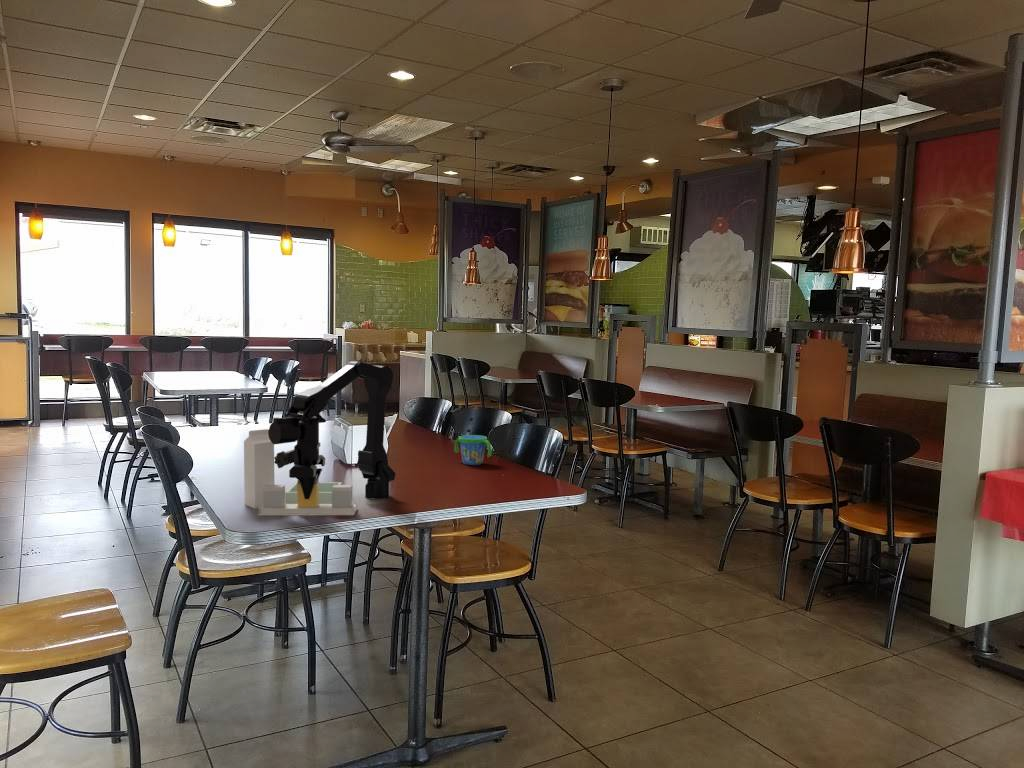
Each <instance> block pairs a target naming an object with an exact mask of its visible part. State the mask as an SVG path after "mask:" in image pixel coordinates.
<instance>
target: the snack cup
mask: <svg viewBox="0 0 1024 768" xmlns="http://www.w3.org/2000/svg"><path fill="white" fill-rule="evenodd" d="M459 443H460V448H459ZM486 447H487V449H488V450H487V455H486V457H487V458H490V457H491V456H492V454H493V450H492V446H491V442H490V441H489V440H488V437H487V436H485V435H479V434H467V435H466V434H465V435H460V436H459V437H457V438H456V440H455V442H454V448H453V450H454V453H456V454H457V453H459V452H460V453H461V455H460V456H461V461H462V463H463V465H468V466H469V465H470V466H479V465H480V466H481V464H483V463H484V457H485V451H486Z"/></svg>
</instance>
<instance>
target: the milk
mask: <svg viewBox="0 0 1024 768" xmlns="http://www.w3.org/2000/svg"><path fill="white" fill-rule="evenodd" d="M268 430H269V428H265V429H255V430H254V429H253V430H249V431H248V437H246V438H245V440H244V441H243V468H244V469H243V470H244V471H243V475H244V476H243V477H244V479H243V480H244V481H243V482H244V484H243V485H244V486H243V487H244V505H245V506H247V507H250V508H253V509H258V508H259V507H260V506H261V505H263V487H264V486H265V485H275V458H274V457H275V444H273V443H272V442H271V441H270V439H269V435H268Z"/></svg>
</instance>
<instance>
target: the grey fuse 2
mask: <svg viewBox="0 0 1024 768" xmlns="http://www.w3.org/2000/svg"><path fill="white" fill-rule="evenodd" d="M352 504H353V484H342V485H333V487H332V508H352Z"/></svg>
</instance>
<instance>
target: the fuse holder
mask: <svg viewBox="0 0 1024 768" xmlns="http://www.w3.org/2000/svg"><path fill="white" fill-rule="evenodd" d="M357 511H358V503H352V508H332V504H318V505H317V506H298V504H285V507H284V508H263V505H261V506H260V507H259V508H257V516H355V514H356V512H357Z"/></svg>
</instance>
